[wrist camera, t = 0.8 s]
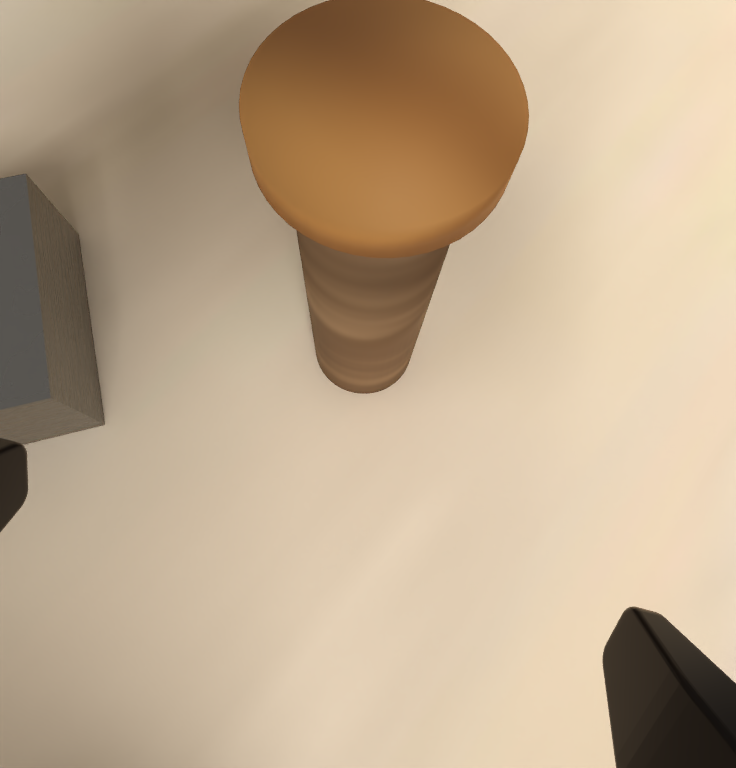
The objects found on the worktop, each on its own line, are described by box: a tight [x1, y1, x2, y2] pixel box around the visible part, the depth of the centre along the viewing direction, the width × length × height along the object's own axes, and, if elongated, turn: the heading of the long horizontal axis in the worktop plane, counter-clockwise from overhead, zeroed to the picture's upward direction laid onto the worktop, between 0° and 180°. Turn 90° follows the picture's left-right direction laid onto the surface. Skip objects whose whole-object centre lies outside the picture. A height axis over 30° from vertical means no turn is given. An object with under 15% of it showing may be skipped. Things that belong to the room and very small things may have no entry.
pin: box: [239, 0, 529, 393], centre depth 16 cm, size 5×5×13 cm
